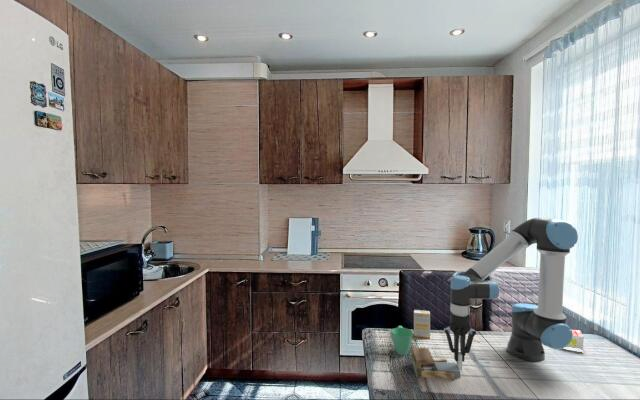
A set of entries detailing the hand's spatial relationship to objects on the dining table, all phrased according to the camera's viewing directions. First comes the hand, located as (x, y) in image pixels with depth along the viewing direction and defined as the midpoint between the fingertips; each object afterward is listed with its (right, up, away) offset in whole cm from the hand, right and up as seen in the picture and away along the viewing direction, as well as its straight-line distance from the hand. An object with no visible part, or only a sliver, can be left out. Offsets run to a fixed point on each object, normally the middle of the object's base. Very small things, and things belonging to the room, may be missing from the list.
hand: (459, 368), depth 139 cm
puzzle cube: (+64, -1, +22) cm, 68 cm away
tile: (-5, -2, 0) cm, 6 cm away
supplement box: (-5, -1, +35) cm, 36 cm away
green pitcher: (-20, -2, +20) cm, 28 cm away
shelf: (-11, -2, +1) cm, 11 cm away
